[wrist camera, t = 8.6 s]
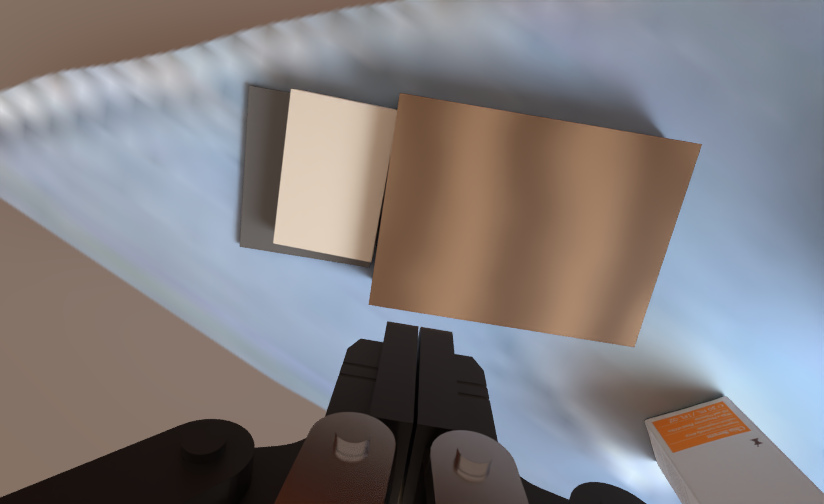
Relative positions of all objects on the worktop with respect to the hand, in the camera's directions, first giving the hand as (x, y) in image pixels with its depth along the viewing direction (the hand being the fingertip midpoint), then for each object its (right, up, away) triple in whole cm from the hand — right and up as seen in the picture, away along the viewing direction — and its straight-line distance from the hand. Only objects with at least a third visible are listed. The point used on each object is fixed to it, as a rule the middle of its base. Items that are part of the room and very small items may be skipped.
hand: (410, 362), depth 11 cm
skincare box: (+20, -10, +24) cm, 33 cm away
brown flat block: (+6, +5, +20) cm, 21 cm away
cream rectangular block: (-5, +7, +19) cm, 21 cm away
